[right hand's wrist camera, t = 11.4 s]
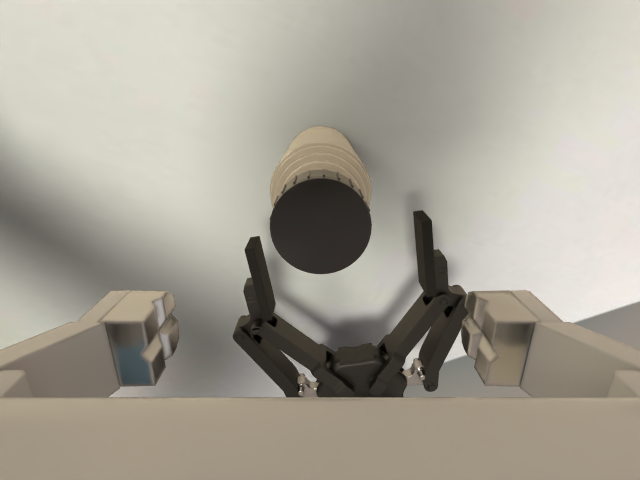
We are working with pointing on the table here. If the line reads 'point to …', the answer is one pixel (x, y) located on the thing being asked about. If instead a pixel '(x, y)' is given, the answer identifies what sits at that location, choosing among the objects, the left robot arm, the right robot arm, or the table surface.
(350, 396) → the left robot arm
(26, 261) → the table surface
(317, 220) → the cap
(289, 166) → the bottle
